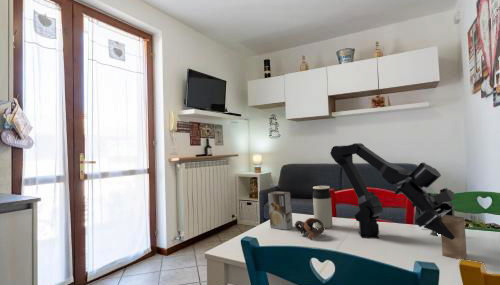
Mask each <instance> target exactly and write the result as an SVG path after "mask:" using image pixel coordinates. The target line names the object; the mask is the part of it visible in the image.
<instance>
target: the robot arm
mask: <svg viewBox="0 0 500 285" xmlns="http://www.w3.org/2000/svg"><path fill="white" fill-rule="evenodd" d="M353 155H357V156H358V157H359V158H361V159H363V161H365V162H366V163H368V164H369V165H370V166H371V167H373V168H374V169H376V170H377V171H378V172H379V174H380V176H381V178H383V179H384V180H385V181H386V182H387V183H388V184H390V185H398V184H401V185H399V186H395V187H394V189H395V191H394V194H395V196H398V195H401V194H403V195H404V196H405V197H406V198H407V200H408V201H410V202H411V203H412V204H411V206H412V208H417V209H418V210H419V212H421V213H420V214H419V215H417V216H416V217H415V218H414V219H415V220H414V221H415V222H414V223H415V224H416V225H417V226H418V227H419V228H421V227H423V229H429V230H430V231H431V232H432V231H434V233H435V232H436V233H438V234H441V235H443V236H445V237H447V238H449V239H451V240H453V239H454V238H455V237H454V236H453V234H452V233H451V232H450V231H449V230H448V228H447V227H446V226H445V225H444V224H443V222H442V219H441V217H442V216H444V215H450V216H455V210H456V208H455V207H456V205H455V204H454V203H453V202H452V201H453V200H456V197H455V195H454V194H455V192H454V191H452V189H448V188H447V187H445V188H442V189H441V188H440V189H439V193H435V194H433V193H431V192H427V191H425V190H424V189H423V188H429V187H430V186H432V185H433V184H434V183H435V182H436V181H438V179H439V178H441V176H442V175H441V172H440V171H439V170H437V169H436V168H435V167H432V166H431V165H429V164H427V163H425V162H420V163H419V164H418V166H417V167H416V168H415V169H414V170H413V171H410V170H407V169H405V168H404V167H402V166H399V165H397V164H394V163H391V162H389V161H387V160H386V159H384V158H382V157H381V156H380V155H378V154H377V153H375V152H374V151H372V150H371V149H370V148H369V147H366V145H365V144H363V143H360V142H357V143H352V144H349V145H345V144H344V145H335V146H332V147H331V150H330V157H331V158H332V159H333V161H334V162H336V163H337V164H338V165H339V166H340V167H341V168H342V169H343V172H344V175H346V178H347V179H348V181H349V183H350V185H351V187H352V189H353V191H354V193H355V195H356V197H357V199H358V200H357V202H358V203H357V204H358V208H359V211H358V212H356V214H355V215H354V218H355V220H356V222H358V229H359V230H358V234H359V235H360V236H359V237H360V238H371V239H372V238H373V239H375V238H376V239H377V238H379V237H380V236H379V235H380V230H379V227H380V226H379V224H378V223H377V221H378V219H380V215H382V214H383V210H384V209H383V208H384V207H383V203H382V202H381V200H380V198H379V196H378V195H377V194H375V195H374V194H371V193H370V191H369V190H368V188H367V186H366V184H365V182H364V180H363V178H362V177H361V174H360V173H359V171H358V169H357V168H356V166H355V164H354V161H353ZM407 180H408V181H407Z"/></svg>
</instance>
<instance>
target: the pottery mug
mask: <svg viewBox="0 0 500 285" xmlns="http://www.w3.org/2000/svg"><path fill="white" fill-rule="evenodd" d="M316 222H318V223H319V224H320V225H321V228H317V227H315V226H314V225H315V224H314V223H316ZM294 226H295V229H296V230H297V231H299V233H300V234H301V235H302V234H304V235H305V234H306V233H308V235H307V238H308V239H309V240H312V239H314V238H317V237H319V236H321V235H322V234H324V233H325V229H324V227H323V223H322V222H321V221H320V220H318V219H316V218H314V217H308V218H307V219H305V221H301V220H296V221H295V222H294Z"/></svg>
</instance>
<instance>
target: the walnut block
mask: <svg viewBox="0 0 500 285" xmlns="http://www.w3.org/2000/svg"><path fill="white" fill-rule="evenodd" d="M441 219H442V222H443V224H444V225H445V226H446V227H447V228H448V230H449V231H450V232H451V233H452V234H453V236H454V237H455V238H454V239H453V240H451V239H449V238H447V237H445V236H443V235H441V237H440V240H441V252H442V253H441V254H442V255H441V256H443V257H446V258H450V259H454V258H455V259H456V260H458V259H460V260H459V261H462V260H464V259H465V258H466V257H468V255H467V251H468V250H467V240H466V239H467V238H466V226H465V224H466V223H465V217H464V216H463V217H462V216H456V215H454V216H450V215H444V216H442V217H441ZM461 259H462V260H461Z"/></svg>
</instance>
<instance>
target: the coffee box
mask: <svg viewBox="0 0 500 285" xmlns="http://www.w3.org/2000/svg"><path fill="white" fill-rule="evenodd" d="M291 192H292V191H291ZM291 192H290V191H271V192H268V194H267V195H268V197H267V198H268V212H269V225H270V226H269V227H271V228H270V229H277V230H286V231H288V230H289V229H291V228H293V227H294V226H293V225H294V223H293V208H292V194H291Z"/></svg>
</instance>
